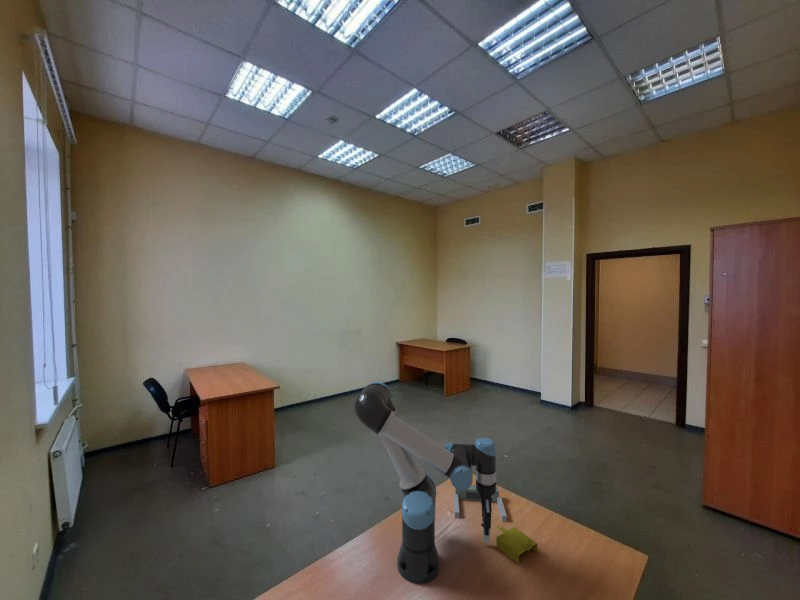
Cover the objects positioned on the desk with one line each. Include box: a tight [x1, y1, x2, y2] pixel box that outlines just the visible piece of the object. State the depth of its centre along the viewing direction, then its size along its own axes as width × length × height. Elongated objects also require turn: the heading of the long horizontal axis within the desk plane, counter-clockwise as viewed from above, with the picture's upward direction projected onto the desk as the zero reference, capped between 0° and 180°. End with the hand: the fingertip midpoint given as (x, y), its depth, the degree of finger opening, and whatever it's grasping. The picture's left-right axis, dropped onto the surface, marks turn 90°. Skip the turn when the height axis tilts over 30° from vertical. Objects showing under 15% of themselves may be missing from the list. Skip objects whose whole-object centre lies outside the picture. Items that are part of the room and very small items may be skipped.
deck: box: [453, 484, 508, 522], centre depth 151 cm, size 22×17×6 cm
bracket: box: [496, 524, 538, 565], centre depth 127 cm, size 16×8×15 cm
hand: (486, 540), depth 127 cm, fingers closed
